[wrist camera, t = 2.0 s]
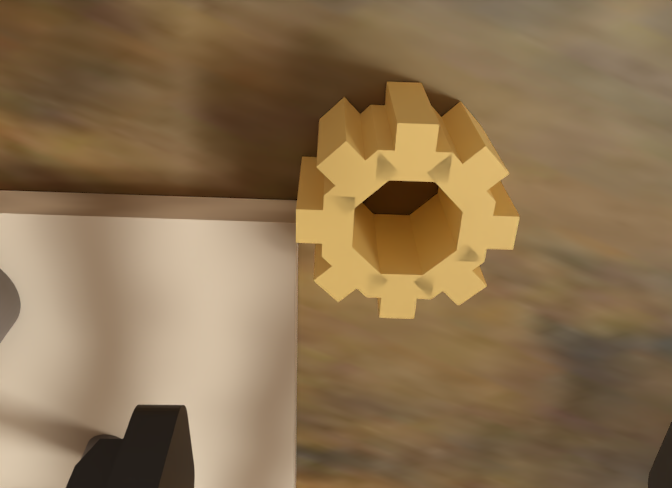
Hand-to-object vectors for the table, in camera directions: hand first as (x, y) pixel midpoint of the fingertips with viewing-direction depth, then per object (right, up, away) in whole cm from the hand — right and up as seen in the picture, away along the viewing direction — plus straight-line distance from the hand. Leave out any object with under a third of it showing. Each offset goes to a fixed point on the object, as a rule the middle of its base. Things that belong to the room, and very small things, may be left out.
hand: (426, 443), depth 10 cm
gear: (0, +5, +9) cm, 11 cm away
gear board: (-10, -5, +15) cm, 19 cm away
